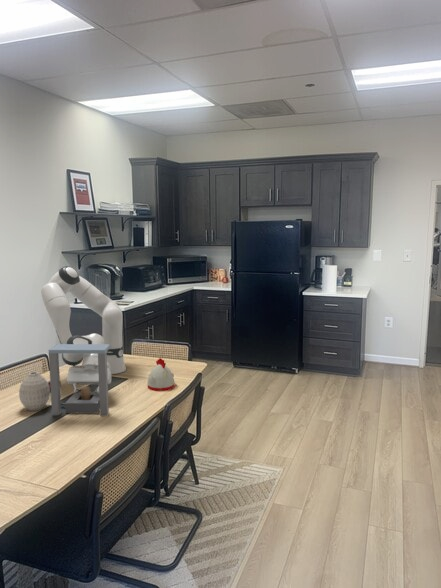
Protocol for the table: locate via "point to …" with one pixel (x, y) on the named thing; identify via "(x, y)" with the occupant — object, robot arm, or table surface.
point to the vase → (34, 391)
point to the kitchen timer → (161, 377)
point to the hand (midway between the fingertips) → (86, 392)
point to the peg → (85, 393)
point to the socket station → (74, 402)
